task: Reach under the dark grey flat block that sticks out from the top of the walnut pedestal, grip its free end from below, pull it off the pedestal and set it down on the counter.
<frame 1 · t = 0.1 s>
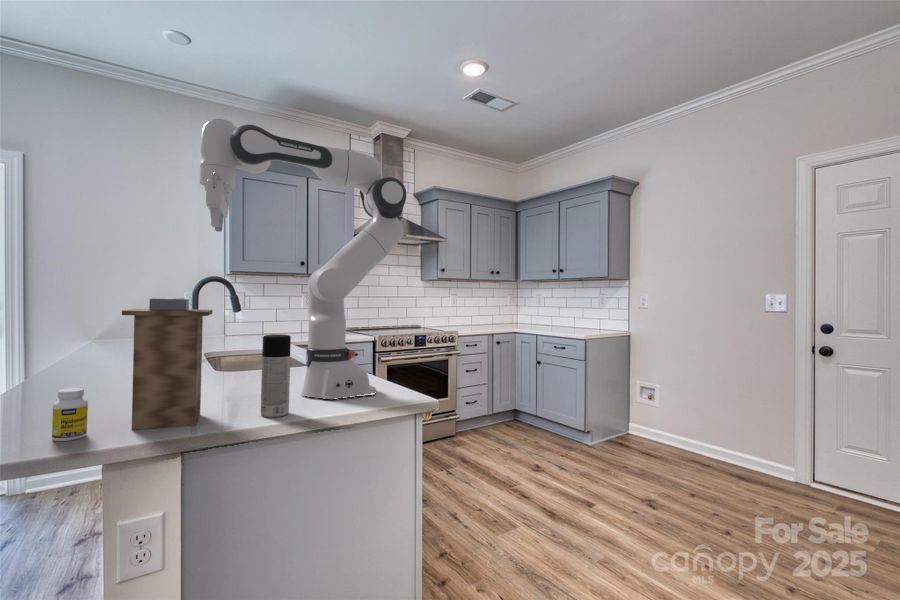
hand: (216, 229, 122), 48 cm above the counter, tool pointing down, fingers open, 8 cm apart
spray can: (274, 415, 110), on the counter
pedestal: (168, 421, 101), on the counter
dark grey flat block: (175, 309, 106), point 26 cm above the counter, touching pedestal
supplement bottle: (69, 438, 89), on the counter
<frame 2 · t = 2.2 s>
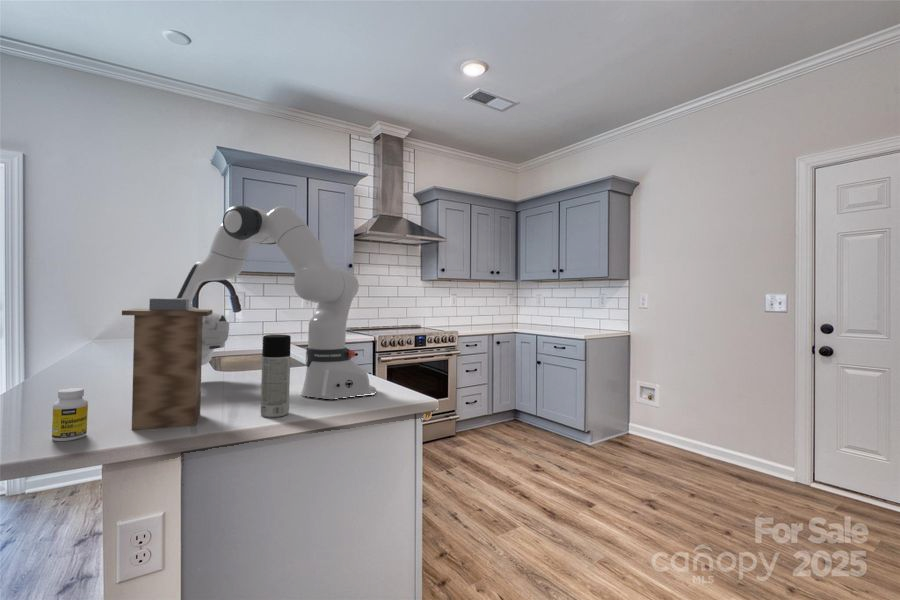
hand: (189, 319, 127), 22 cm above the counter, tool pointing upward, fingers open, 8 cm apart
nothing on the counter moved.
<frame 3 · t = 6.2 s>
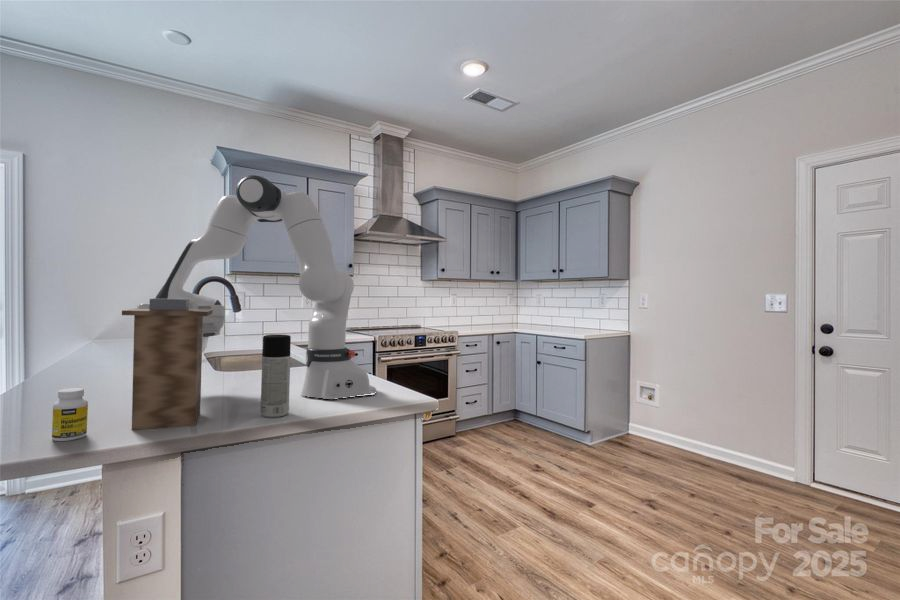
hand: (179, 301, 111), 28 cm above the counter, tool pointing upward, fingers closed on dark grey flat block, 3 cm apart
dark grey flat block: (175, 309, 106), point 26 cm above the counter, touching gripper, pedestal
everything else where it was.
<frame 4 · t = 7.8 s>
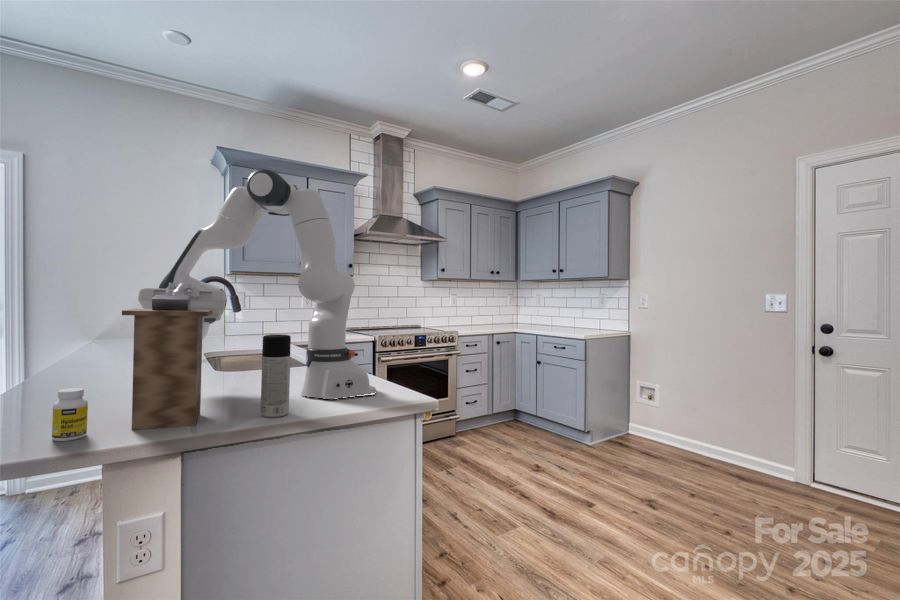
hand: (181, 285, 113), 32 cm above the counter, tool pointing upward, fingers closed on dark grey flat block, 3 cm apart
dark grey flat block: (177, 300, 108), point 28 cm above the counter, tilted 13°, touching gripper
everything else where it was.
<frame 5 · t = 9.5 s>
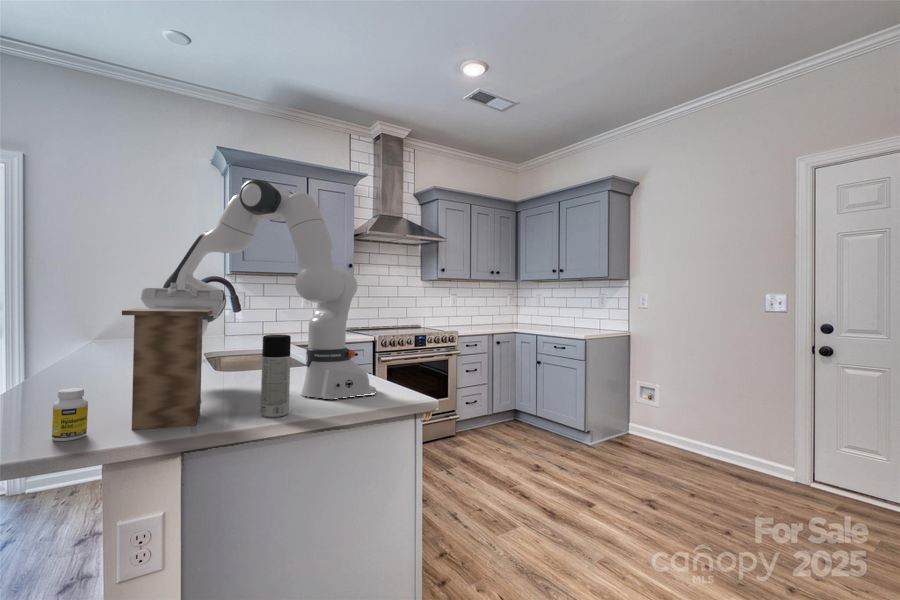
hand: (180, 285, 121), 32 cm above the counter, tool pointing upward
dark grey flat block: (184, 396, 126), on the counter
everything else where it was.
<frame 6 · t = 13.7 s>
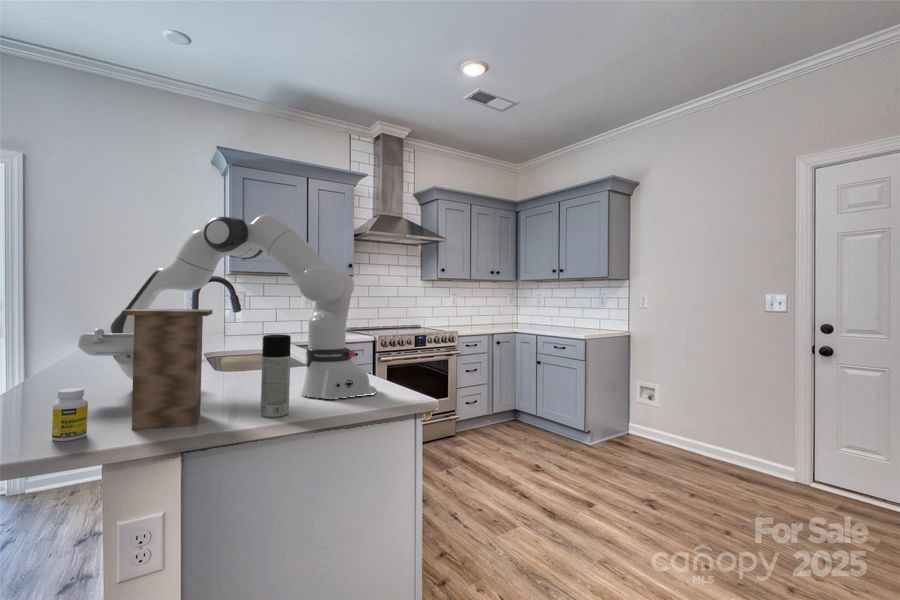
hand: (120, 331, 113), 19 cm above the counter, tool pointing upward, fingers open, 8 cm apart
nothing on the counter moved.
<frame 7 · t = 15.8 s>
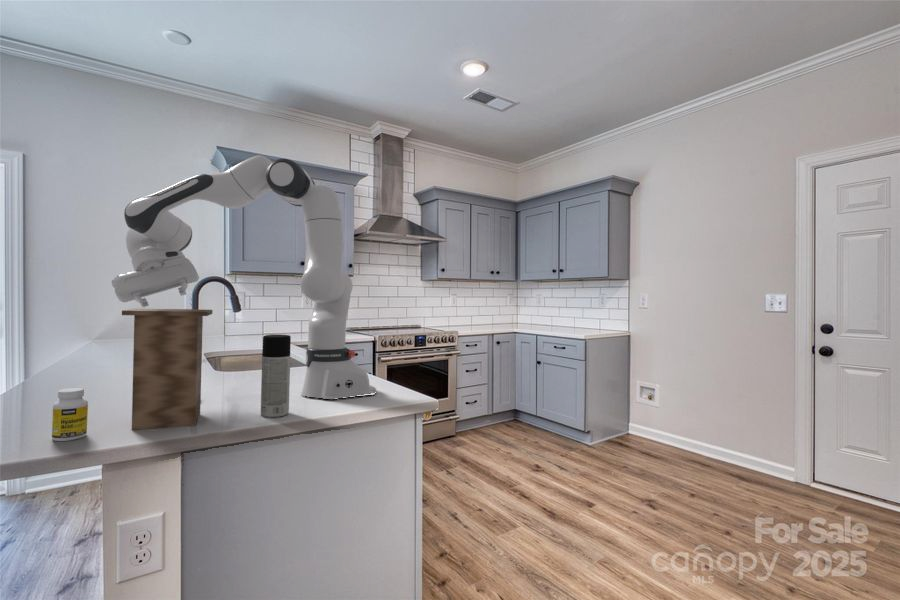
hand: (164, 299, 121), 28 cm above the counter, tool tilted 50°, fingers open, 8 cm apart
nothing on the counter moved.
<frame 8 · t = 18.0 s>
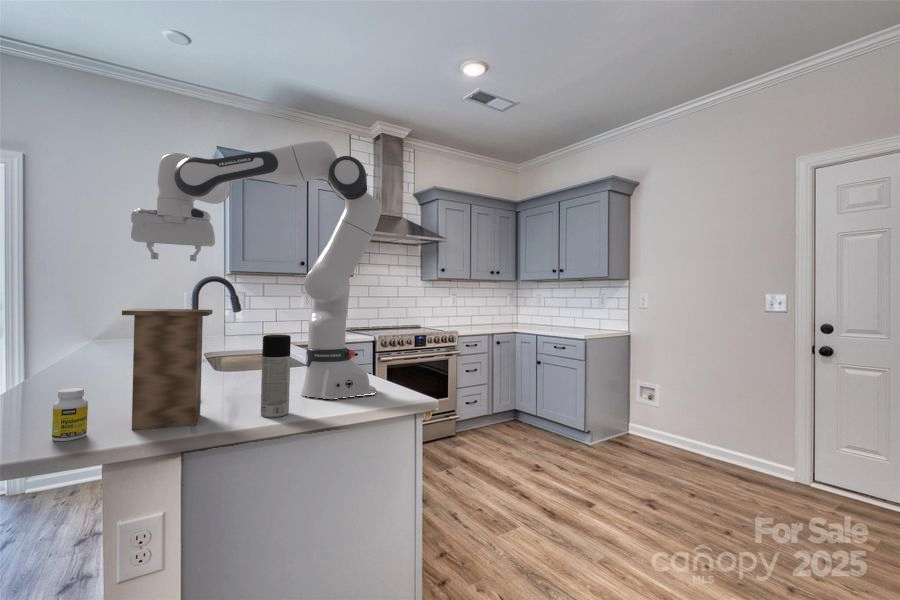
hand: (174, 260, 125), 39 cm above the counter, tool pointing down, fingers open, 8 cm apart
nothing on the counter moved.
at the end: dark grey flat block touching counter; dark grey flat block inside the target area (19.2 cm from its centre), on the counter; the gripper is holding nothing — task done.
